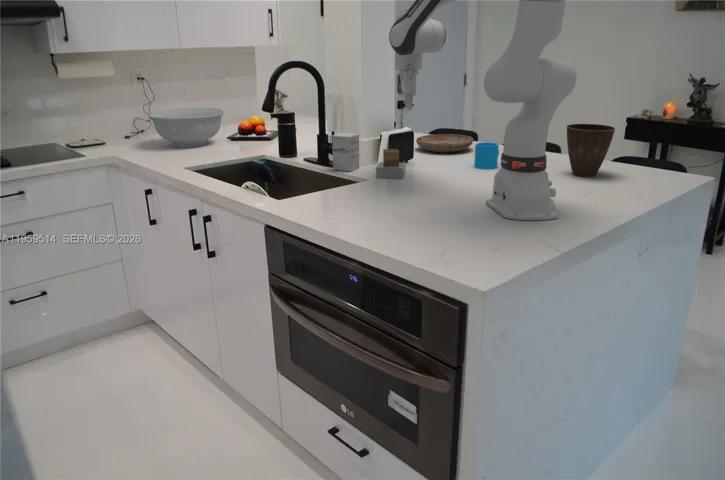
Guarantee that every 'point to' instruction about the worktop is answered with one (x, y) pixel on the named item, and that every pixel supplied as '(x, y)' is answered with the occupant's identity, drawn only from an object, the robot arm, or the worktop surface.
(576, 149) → the plant pot
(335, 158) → the supplement box
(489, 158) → the mug
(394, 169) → the grey base
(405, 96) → the robot arm
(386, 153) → the walnut cube
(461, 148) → the shallow wooden dish
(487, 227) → the worktop surface
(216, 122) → the bowl
